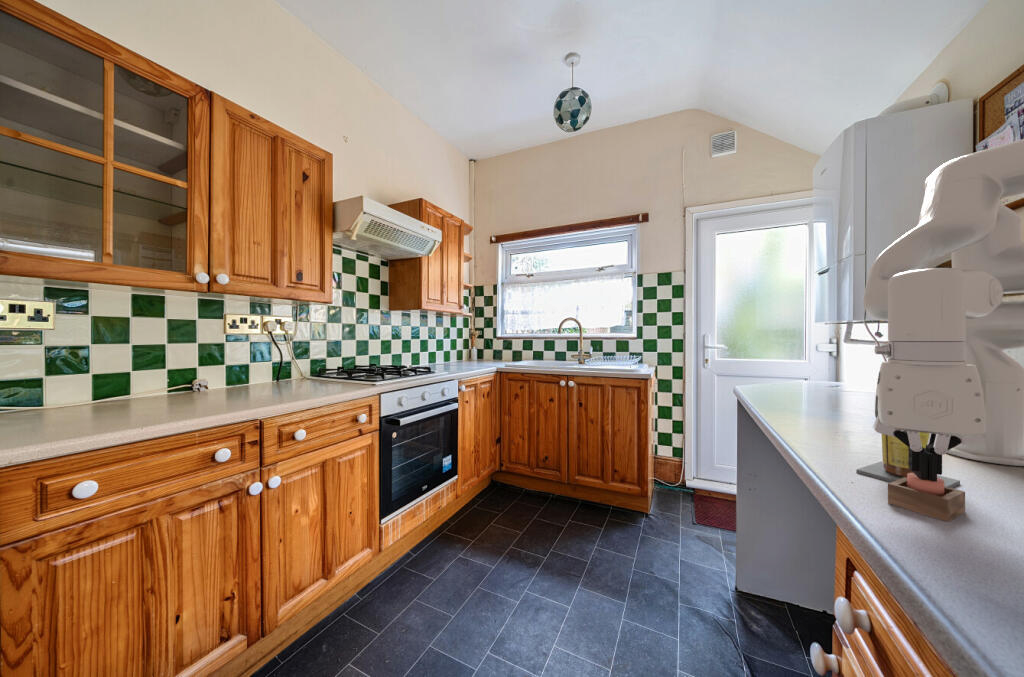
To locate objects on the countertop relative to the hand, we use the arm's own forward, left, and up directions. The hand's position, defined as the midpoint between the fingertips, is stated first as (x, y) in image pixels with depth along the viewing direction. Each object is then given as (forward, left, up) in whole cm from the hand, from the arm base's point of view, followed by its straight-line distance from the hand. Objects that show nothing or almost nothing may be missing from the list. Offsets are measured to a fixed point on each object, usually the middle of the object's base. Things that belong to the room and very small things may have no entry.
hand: (924, 477), depth 53 cm
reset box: (0, 0, -5) cm, 5 cm away
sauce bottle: (-13, -6, -4) cm, 15 cm away
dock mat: (-12, -6, -5) cm, 14 cm away
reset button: (0, 0, -2) cm, 3 cm away
